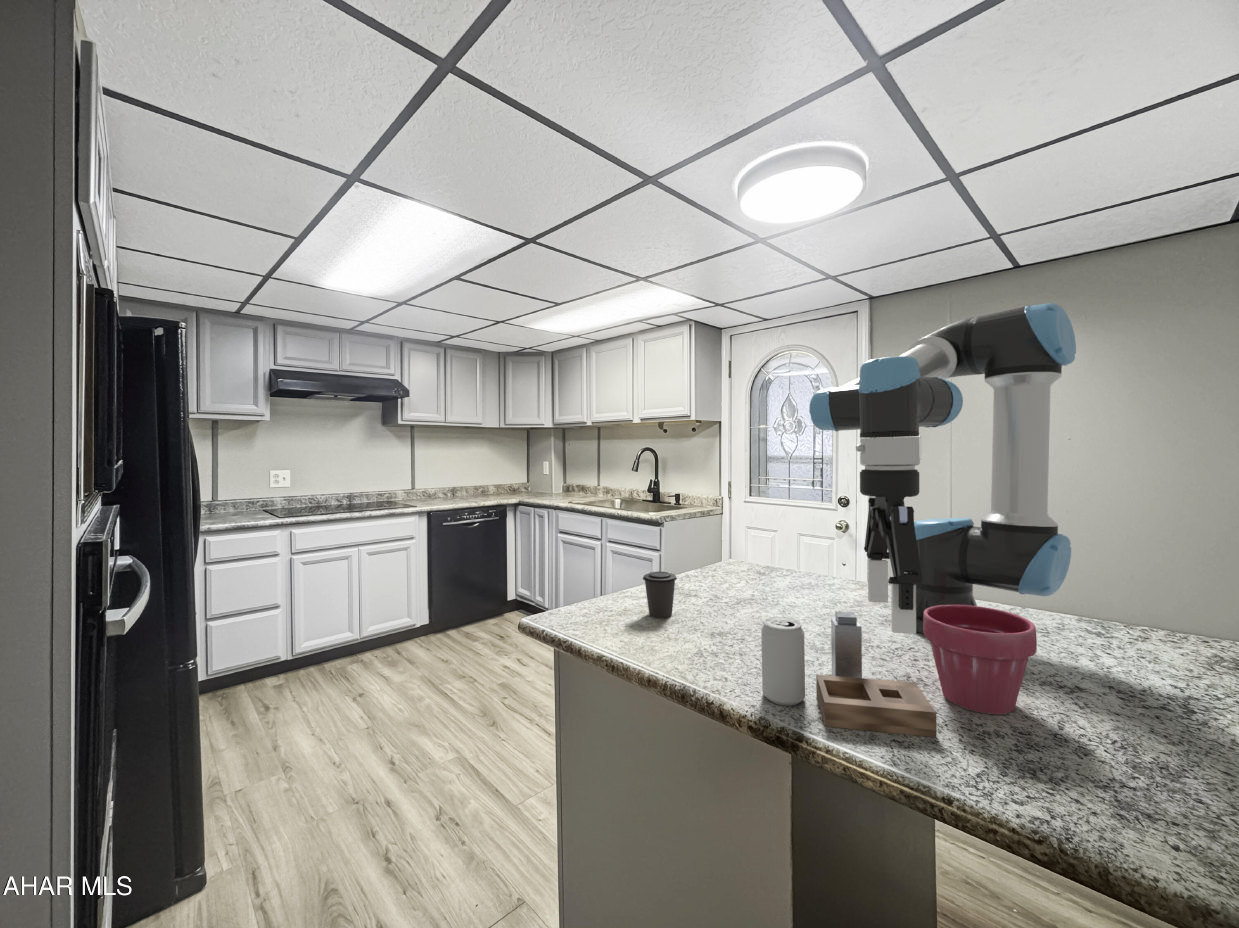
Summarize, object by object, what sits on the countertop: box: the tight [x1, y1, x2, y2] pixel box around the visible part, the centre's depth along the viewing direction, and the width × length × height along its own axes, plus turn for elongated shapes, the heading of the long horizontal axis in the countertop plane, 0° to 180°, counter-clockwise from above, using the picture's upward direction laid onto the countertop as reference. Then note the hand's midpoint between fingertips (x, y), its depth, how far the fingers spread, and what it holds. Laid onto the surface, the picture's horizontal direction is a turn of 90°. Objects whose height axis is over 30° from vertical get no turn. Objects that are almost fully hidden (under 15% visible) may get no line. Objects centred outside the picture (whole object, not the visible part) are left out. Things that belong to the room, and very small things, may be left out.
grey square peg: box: [830, 610, 863, 678], centre depth 86 cm, size 4×4×11 cm
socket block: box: [815, 674, 937, 738], centre depth 75 cm, size 14×9×3 cm, turn 76°
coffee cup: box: [642, 571, 678, 620], centre depth 122 cm, size 8×8×10 cm
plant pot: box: [923, 605, 1038, 715], centre depth 79 cm, size 14×14×13 cm
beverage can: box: [760, 616, 806, 707], centre depth 80 cm, size 6×6×12 cm
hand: (889, 615), depth 74 cm, fingers open, 13 cm apart
